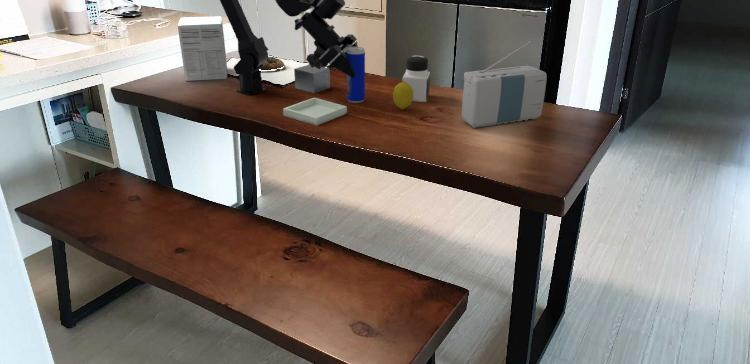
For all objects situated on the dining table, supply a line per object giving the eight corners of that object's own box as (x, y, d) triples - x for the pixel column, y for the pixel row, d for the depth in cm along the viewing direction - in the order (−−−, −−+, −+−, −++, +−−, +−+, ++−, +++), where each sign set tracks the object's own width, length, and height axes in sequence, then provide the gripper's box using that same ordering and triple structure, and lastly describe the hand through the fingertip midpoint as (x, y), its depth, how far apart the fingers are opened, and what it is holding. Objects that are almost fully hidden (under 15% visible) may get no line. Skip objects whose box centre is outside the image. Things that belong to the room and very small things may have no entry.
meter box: (295, 88, 172) (294, 68, 170) (311, 82, 178) (310, 64, 175) (314, 93, 168) (313, 73, 165) (330, 87, 173) (330, 68, 171)
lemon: (415, 108, 157) (416, 80, 153) (408, 114, 152) (409, 85, 149) (397, 105, 159) (397, 77, 155) (389, 111, 154) (389, 82, 151)
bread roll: (250, 72, 187) (249, 57, 186) (254, 68, 198) (253, 54, 196) (284, 73, 188) (283, 58, 187) (286, 69, 199) (285, 54, 197)
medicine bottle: (426, 102, 161) (428, 61, 156) (401, 100, 163) (403, 59, 157) (429, 95, 168) (431, 54, 162) (405, 93, 169) (406, 53, 163)
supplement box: (227, 79, 181) (221, 23, 173) (185, 81, 178) (176, 25, 170) (227, 68, 192) (222, 15, 184) (187, 70, 189) (180, 17, 182)
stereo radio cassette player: (473, 131, 142) (480, 52, 133) (457, 120, 148) (463, 44, 139) (542, 121, 148) (553, 45, 140) (523, 111, 155) (533, 38, 146)
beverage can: (346, 97, 164) (345, 46, 158) (364, 97, 165) (364, 46, 158) (347, 103, 160) (346, 50, 153) (365, 103, 160) (365, 50, 153)
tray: (283, 115, 150) (283, 108, 150) (314, 104, 159) (314, 97, 158) (316, 125, 144) (316, 118, 143) (346, 113, 152) (346, 106, 152)
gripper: (313, 43, 168) (349, 82, 170) (289, 57, 152) (330, 100, 154) (337, 17, 163) (374, 57, 165) (316, 29, 146) (357, 74, 149)
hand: (359, 72), depth 158 cm, fingers open, 9 cm apart
